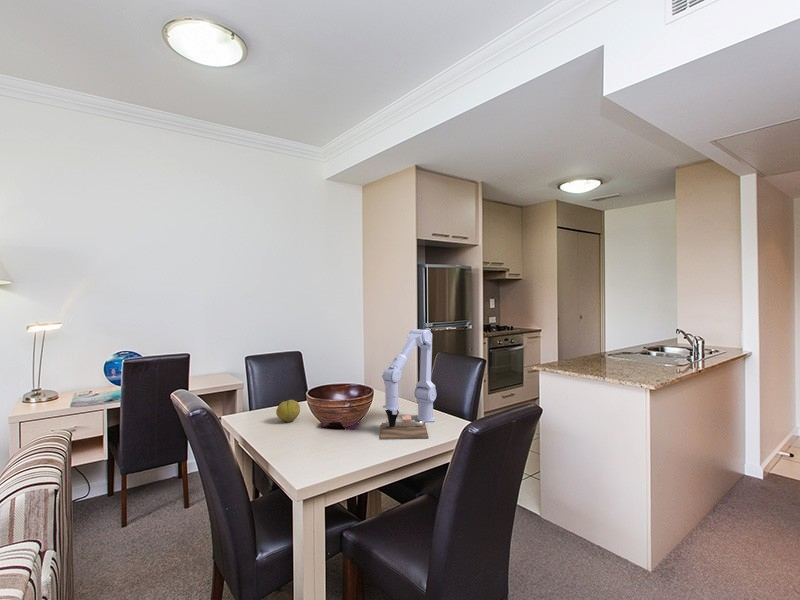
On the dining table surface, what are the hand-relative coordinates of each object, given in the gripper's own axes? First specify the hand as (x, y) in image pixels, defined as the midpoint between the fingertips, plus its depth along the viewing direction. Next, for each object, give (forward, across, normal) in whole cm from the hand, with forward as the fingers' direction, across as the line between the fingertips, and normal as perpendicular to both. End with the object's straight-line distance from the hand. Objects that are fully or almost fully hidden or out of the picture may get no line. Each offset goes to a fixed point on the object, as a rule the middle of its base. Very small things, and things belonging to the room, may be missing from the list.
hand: (392, 426), depth 182 cm
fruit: (+2, -25, -46) cm, 53 cm away
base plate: (+2, +2, +5) cm, 6 cm away
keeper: (+1, -2, +10) cm, 10 cm away
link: (+1, -2, +6) cm, 7 cm away
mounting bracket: (+2, -12, -22) cm, 26 cm away
